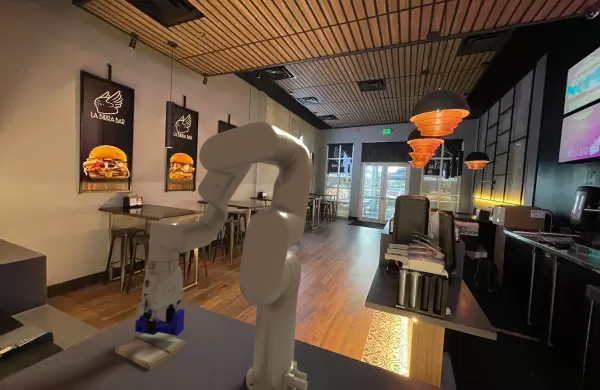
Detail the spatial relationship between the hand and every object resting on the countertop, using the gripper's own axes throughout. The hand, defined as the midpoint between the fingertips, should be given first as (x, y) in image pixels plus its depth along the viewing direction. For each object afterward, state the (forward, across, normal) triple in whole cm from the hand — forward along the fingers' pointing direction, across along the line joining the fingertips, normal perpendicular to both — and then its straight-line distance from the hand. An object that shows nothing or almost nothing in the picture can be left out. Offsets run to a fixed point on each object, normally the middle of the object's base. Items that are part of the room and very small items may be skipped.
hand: (160, 326), depth 75 cm
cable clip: (+1, 0, 0) cm, 1 cm away
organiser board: (+5, -3, 0) cm, 6 cm away
